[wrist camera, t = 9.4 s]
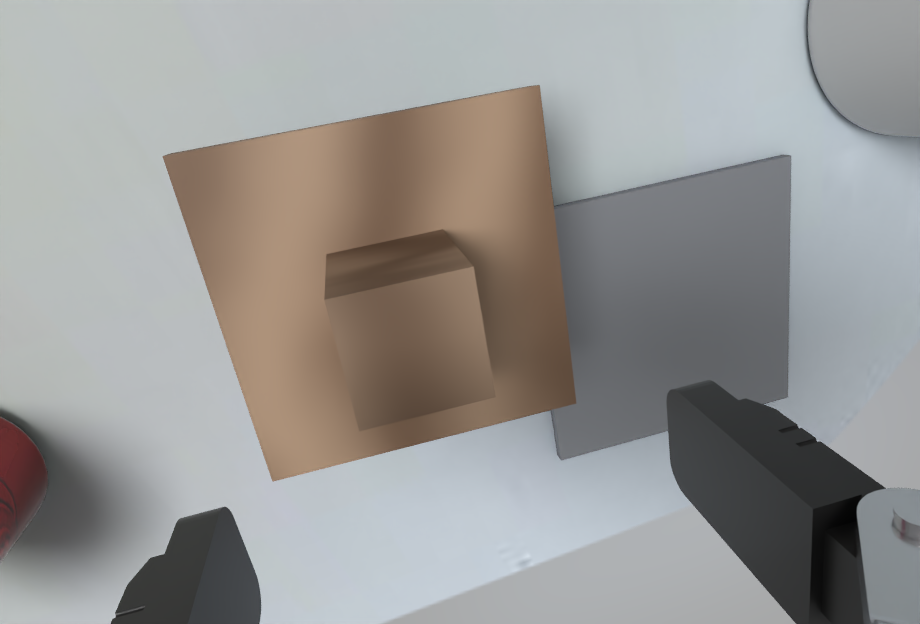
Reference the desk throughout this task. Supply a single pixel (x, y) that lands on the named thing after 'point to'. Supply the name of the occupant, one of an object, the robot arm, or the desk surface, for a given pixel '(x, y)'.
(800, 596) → the robot arm
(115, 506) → the desk surface
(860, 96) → the cylinder vase
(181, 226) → the desk surface
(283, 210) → the lid
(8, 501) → the soda can
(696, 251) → the mat
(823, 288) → the desk surface
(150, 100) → the desk surface
